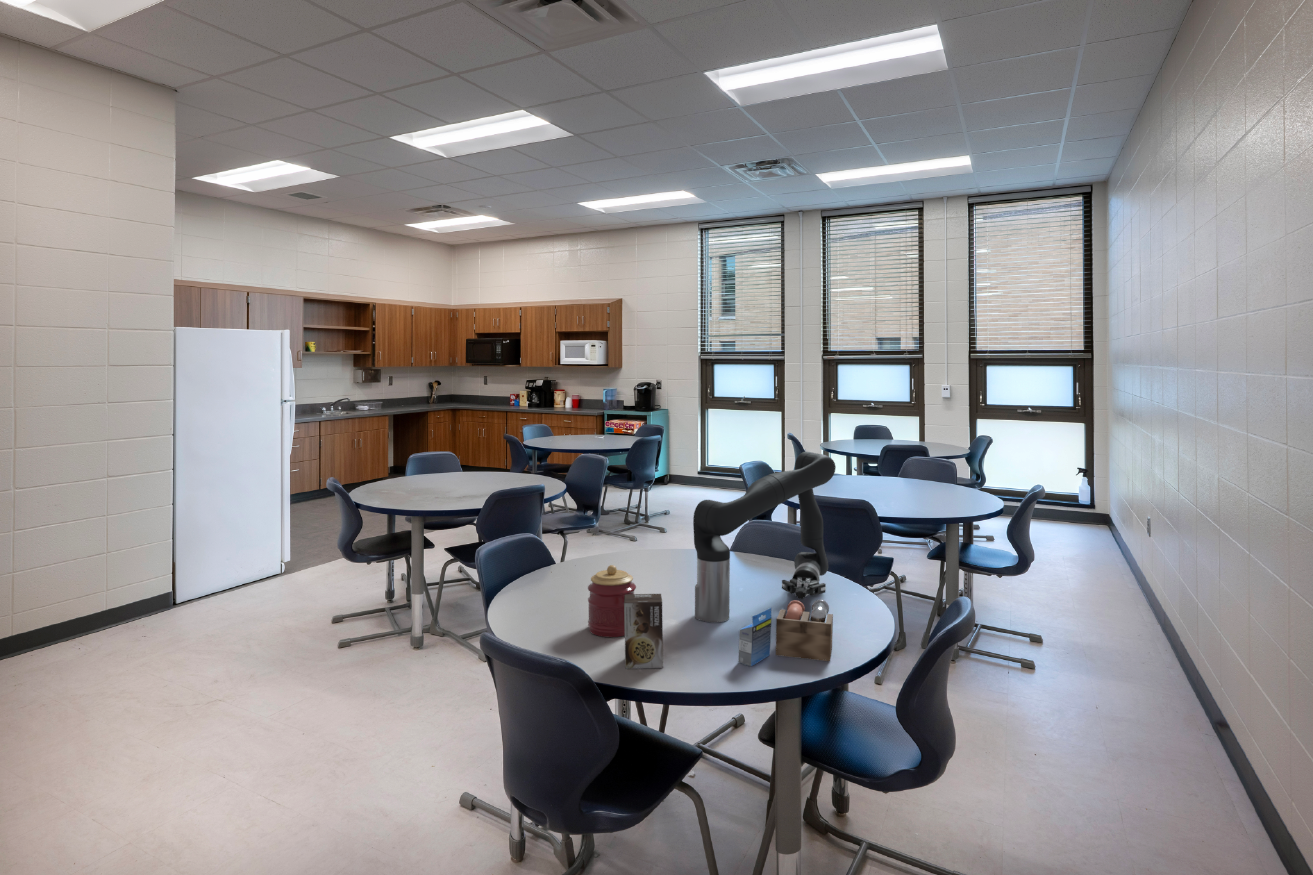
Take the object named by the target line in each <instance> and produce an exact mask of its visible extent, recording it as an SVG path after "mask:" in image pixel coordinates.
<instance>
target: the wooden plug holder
mask: <svg viewBox="0 0 1313 875" xmlns="http://www.w3.org/2000/svg"><path fill="white" fill-rule="evenodd" d="M810 613H811V612H810V611H804V612H803V614H802V616H801V619H800V620H792V619H785V617H786V614H787V609H780V610H779V612H778V615H777V616H776V619H775V656H778V657H779V656H780V657H788V658H797V659H804V660H805V659H806V660H814V661H822V662H823V661H824V662H831V658H832V652H833V632H834V631H833V625H834V624H833V623H834V622H833V621H834V614H833V613H828V614H827V615H826V619H825V623H823V622H813V621H810V618H811V614H810Z"/></svg>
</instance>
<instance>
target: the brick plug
mask: <svg viewBox="0 0 1313 875" xmlns="http://www.w3.org/2000/svg"><path fill="white" fill-rule="evenodd" d="M805 608H806V607H805V605H804V603H803V602H801V601H800V600H798V599H797V600H795V599H794V600H791V601H790V602H789V603H788V604H787V607H786V617H785V619H792V620H801V618H802V614H803V612H806V611H805V610H806V609H805Z"/></svg>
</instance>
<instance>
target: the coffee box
mask: <svg viewBox="0 0 1313 875" xmlns="http://www.w3.org/2000/svg"><path fill="white" fill-rule="evenodd" d="M624 618H625V636H624V663H625V664H624V669H625V670H627V669H628V670H630V669H632V670H633V669H657V668H658V669H663V668H664V641H663V638H664V637H663V632H664V631H663V622H664V620H663V598H662V593H634V594H626V595H625V597H624Z"/></svg>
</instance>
